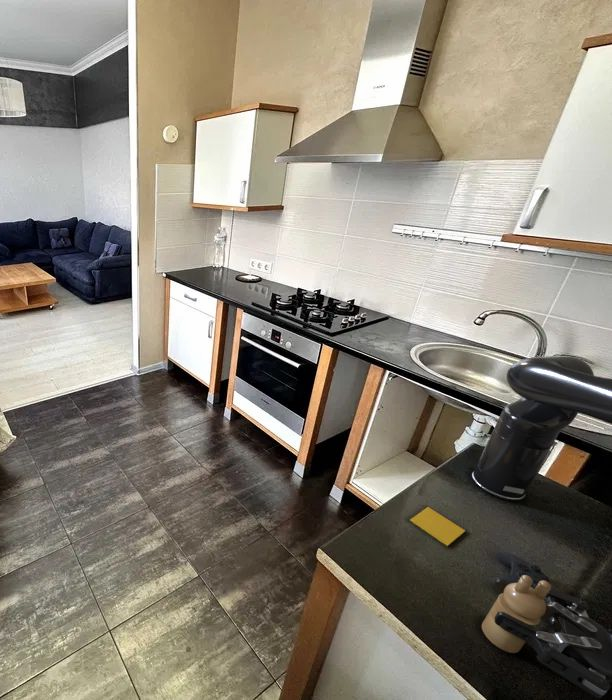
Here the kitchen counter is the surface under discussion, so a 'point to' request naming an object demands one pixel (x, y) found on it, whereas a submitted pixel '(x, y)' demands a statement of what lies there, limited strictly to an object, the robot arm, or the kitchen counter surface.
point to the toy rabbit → (516, 611)
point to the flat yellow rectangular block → (437, 526)
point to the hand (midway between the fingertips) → (496, 599)
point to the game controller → (520, 569)
